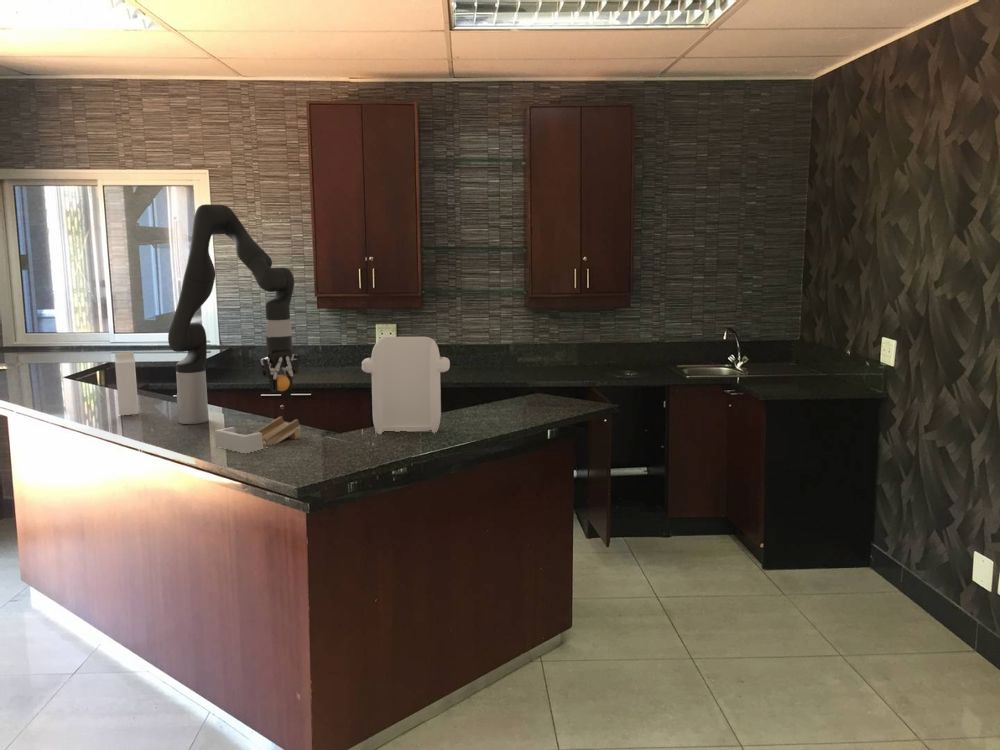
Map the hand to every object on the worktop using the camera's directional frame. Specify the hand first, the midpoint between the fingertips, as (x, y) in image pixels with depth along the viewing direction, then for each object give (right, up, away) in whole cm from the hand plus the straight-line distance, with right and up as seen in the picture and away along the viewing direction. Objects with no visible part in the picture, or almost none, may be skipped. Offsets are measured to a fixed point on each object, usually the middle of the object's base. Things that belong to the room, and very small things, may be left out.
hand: (281, 389), depth 252 cm
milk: (-64, -10, +39) cm, 76 cm away
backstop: (-10, -17, -11) cm, 22 cm away
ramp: (-2, -15, 0) cm, 15 cm away
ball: (0, +2, 0) cm, 2 cm away
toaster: (+37, -14, +12) cm, 41 cm away
